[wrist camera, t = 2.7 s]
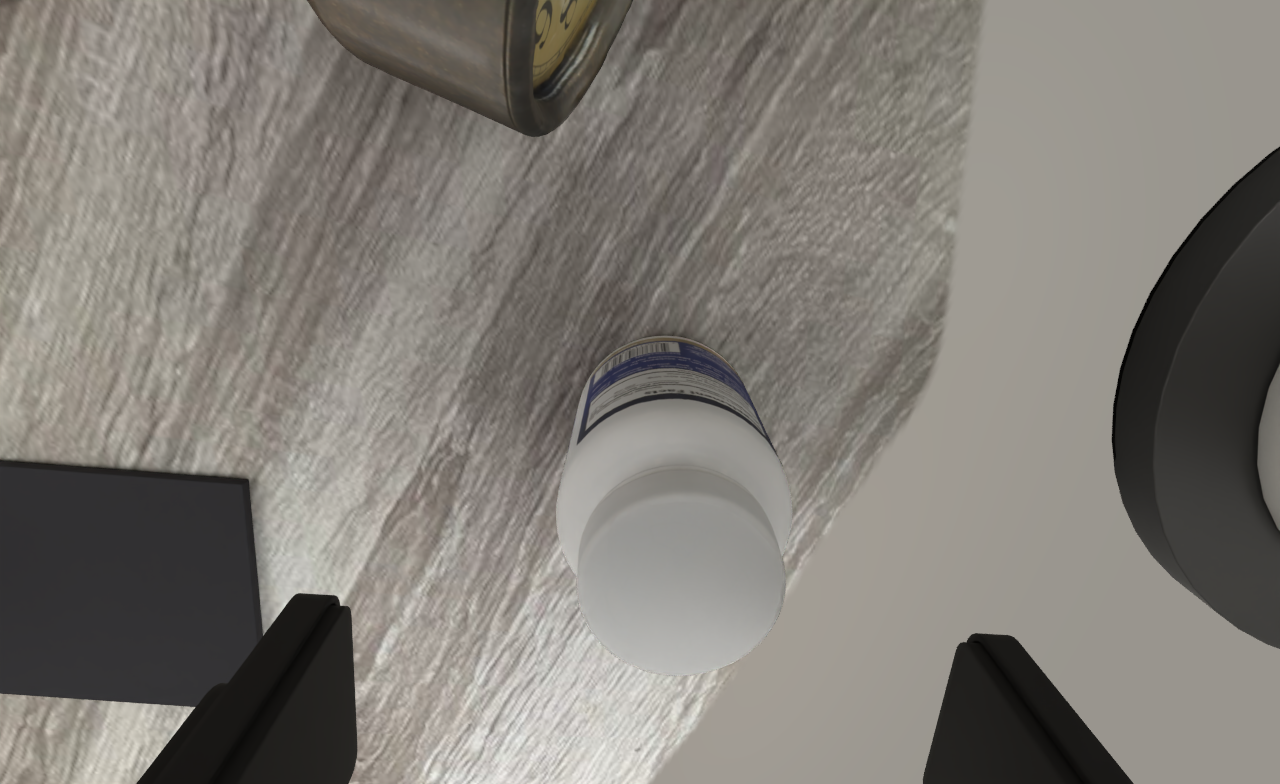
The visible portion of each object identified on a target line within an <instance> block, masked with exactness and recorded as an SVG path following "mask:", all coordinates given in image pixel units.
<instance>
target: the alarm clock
mask: <svg viewBox="0 0 1280 784" xmlns="http://www.w3.org/2000/svg"><path fill="white" fill-rule="evenodd" d="M307 1H308V3H309V4H310V6H311V7H312V9H313V10H314V12H315V13H316V15H317V16H318V18H319V19H320V21H321V22H322V23H323V24H324V26H325V27H326V28H327V29H328V30H329V32H330V33H331V34H332V35H333V36H334V37H335V38H336V39H337V41H338V42H339V43H340V44H341V45H342V46H343V47H345V48H346V49H347V50H348V51H350V52H351V53H352V54H353V55H355V56H356V57H357V58H359V59H360V60H362V61H364V62H365V63H367V64H369V65H371V66H374V67H376V68H378V69H380V70H382V71H384V72H386V73H388V74H390V75H392V76H395V77H397V78H399V79H402V80H404V81H406V82H409V83H411V84H413V85H416V86H418V87H420V88H422V89H425V90H427V91H429V92H432V93H434V94H436V95H439V96H441V97H443V98H445V99H448V100H450V101H452V102H454V103H457V104H459V105H461V106H463V107H466V108H468V109H470V110H472V111H474V112H477V113H479V114H481V115H483V116H485V117H487V118H490V119H492V120H494V121H496V122H498V123H501V124H503V125H505V126H507V127H509V128H511V129H513V130H516V131H518V132H520V133H522V134H524V135H527V136H531V137H539V136H542V135H546V134H548V133H550V132H551V131H553V130H555V129H556V128H557V127H558V126H560V125H561V124H562V123H563V122H564V121H565V120H566V119H567V118H568V117H569V115H570V114H571V113H572V111H573V110H574V109H575V108H576V106H577V105H578V104H579V102H580V100H581V99H582V98H583V96H584V95H585V93H586V92H587V90H588V88H589V87H590V85H591V83H592V82H593V80H594V78H595V77H596V75H597V73H598V72H599V70H600V69H601V67H602V65H603V63H604V61H605V58H606V56H607V53H608V51H609V49H610V47H611V45H612V43H613V41H614V39H615V37H616V35H617V33H618V31H619V29H620V27H621V25H622V23H623V21H624V18H625V16H626V14H627V12H628V10H629V8H630V7H631V4H632V1H633V0H307Z"/></svg>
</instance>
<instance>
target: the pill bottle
mask: <svg viewBox="0 0 1280 784" xmlns="http://www.w3.org/2000/svg"><path fill="white" fill-rule="evenodd" d="M556 524H557V532H558V537H559V541H560V545H561V548H562V551H563V554H564V556H565V558H566V560H567V562H568V564H569V566H570V567H571V569H572V571H573V572H574V574H575V575H576V577H577V595H578V602H579V606H580V610H581V613H582V615H583V618H584V620H585V622H586V624H587V626H588V628H589V629H590V631H591V632H592V634H593V635H594V637H595V638H596V639H597V640H598V642H599V643H600V644H601V645H602V646H603V647H604V648H606V649H607V650H608V651H609V652H610V653H611V654H613V655H614V656H615V657H617V658H619V659H620V660H622V661H624V662H625V663H627V664H629V665H632V666H634V667H636V668H639V669H641V670H644V671H647V672H651V673H656V674H662V675H669V676H688V675H698V674H702V673H707V672H711V671H714V670H717V669H720V668H723V667H725V666H728V665H730V664H732V663H734V662H735V661H737V660H739V659H741V658H743V657H744V656H746V655H747V654H748V653H750V652H751V651H752V650H753V649H754V648H755V647H756V646H758V645H759V644H760V643H761V642H762V640H763V639H764V638H765V637H766V636H767V635H768V633H769V632H770V630H771V629H772V627H773V625H774V624H775V622H776V620H777V618H778V616H779V614H780V611H781V608H782V605H783V601H784V596H785V588H786V576H785V567H784V562H783V558H782V556H783V554H784V551H785V549H786V546H787V542H788V539H789V535H790V531H791V525H792V500H791V492H790V488H789V484H788V480H787V478H786V475H785V472H784V469H783V466H782V463H781V461H780V459H779V458H778V455H777V453H776V451H775V449H774V447H773V445H772V443H771V441H770V439H769V437H768V435H767V433H766V431H765V428H764V426H763V424H762V422H761V420H760V418H759V416H758V414H757V411H756V409H755V407H754V405H753V403H752V401H751V399H750V397H749V394H748V392H747V390H746V388H745V386H744V384H743V382H742V381H741V379H740V377H739V376H738V374H737V373H736V371H735V370H734V369H733V367H732V366H731V365H730V364H729V363H728V362H727V361H726V360H725V359H724V358H723V357H722V356H721V355H719V354H718V353H717V352H715V351H714V350H712V349H711V348H709V347H707V346H705V345H703V344H701V343H699V342H696V341H694V340H691V339H687V338H682V337H677V336H653V337H647V338H642V339H638V340H635V341H633V342H630V343H628V344H626V345H624V346H622V347H620V348H618V349H617V350H615V351H614V352H612V353H611V354H610V355H608V356H607V357H606V358H605V359H604V360H603V361H602V362H601V363H600V364H599V365H598V366H597V368H596V369H595V370H594V371H593V373H592V374H591V376H590V377H589V379H588V381H587V383H586V385H585V387H584V389H583V392H582V395H581V398H580V402H579V405H578V409H577V413H576V417H575V421H574V426H573V431H572V435H571V439H570V443H569V448H568V452H567V457H566V461H565V465H564V469H563V473H562V476H561V481H560V485H559V492H558V498H557V505H556Z"/></svg>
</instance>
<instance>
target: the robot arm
mask: <svg viewBox="0 0 1280 784" xmlns="http://www.w3.org/2000/svg"><path fill="white" fill-rule="evenodd" d="M1257 466H1258V471H1259V476H1260V482H1261V487H1262V492H1263V498H1264V500H1265V502H1266V505H1267V507H1268V509H1269V511H1270V513H1271V515H1272V518H1273V520H1274V522H1275V524H1276V526H1277V528H1278V529H1279V531H1280V364H1279V367H1278V369H1277V371H1276V373H1275V375H1274V378H1273V380H1272V382H1271V384H1270V387H1269V389H1268V393H1267V397H1266V401H1265V405H1264V409H1263V413H1262V417H1261V421H1260V425H1259V436H1258V460H1257ZM356 758H357V728H356V706H355V684H354V662H353V640H352V618H351V610H350V608H349V607H348V606H340V602H339V599H338V597H337V596H335V595H318V594H301V593H299V594H295V595H294V596H293V597H292V598H291V600H290V601H289V602H288V604H287V605H286V606H285V608H284V609H283V610H282V612H281V613H280V614H279V616H278V617H277V618H276V620H275V621H274V622H273V624H272V625H271V626H270V628H269V629H268V630H267V632H266V633H265V634H264V636H263V637H262V638H261V640H260V641H259V642H258V644H257V645H256V646H255V648H254V649H253V650H252V652H251V653H250V654H249V656H248V657H247V658H246V660H245V661H244V662H243V664H242V665H241V666H240V668H239V669H238V670H237V672H236V673H235V674H234V676H233V677H232V678H231V680H230V681H229V682H228V683H220V684H217V685H215V686H213V687H212V688H211V689H210V691H209V692H208V693H207V694H206V695H205V696H204V697H203V698H202V700H201V701H200V702H199V704H198V705H197V706H196V708H195V709H194V710H193V711H192V713H191V714H190V715H189V717H188V718H187V719H186V720H185V722H184V723H183V724H182V726H181V727H180V728H179V729H178V731H177V732H176V733H175V735H174V736H173V737H172V738H171V740H170V741H169V742H168V744H167V745H166V746H165V747H164V749H163V750H162V751H161V753H160V754H159V755H158V757H157V758H156V759H155V760H154V762H153V763H152V764H151V766H150V767H149V768H148V769H147V771H146V772H145V773H144V775H143V776H142V777H141V778H140V780H139V781H138V782H137V784H348V783H349V781H350V779H351V776H352V774H353V771H354V767H355V763H356ZM923 784H1133V782H1132V781H1131V780H1130V779H1129V777H1128V776H1127V775H1126V774H1125V772H1124V771H1123V770H1122V769H1121V767H1120V766H1119V765H1118V764H1117V763H1116V761H1115V760H1114V759H1113V758H1112V756H1111V755H1110V754H1109V753H1108V751H1107V750H1106V749H1105V748H1104V747H1103V745H1102V744H1101V743H1100V742H1099V740H1098V739H1097V738H1096V737H1095V735H1094V734H1093V733H1092V732H1091V730H1090V729H1089V728H1088V727H1087V726H1086V725H1085V723H1084V722H1083V721H1082V719H1081V718H1080V717H1079V716H1078V714H1077V713H1076V712H1075V711H1074V710H1073V708H1072V707H1071V706H1070V705H1069V703H1068V702H1067V701H1066V700H1065V699H1064V697H1063V696H1062V695H1061V694H1060V692H1059V691H1058V690H1057V689H1056V687H1055V686H1054V685H1053V684H1052V683H1051V681H1050V680H1049V679H1048V678H1047V676H1046V675H1045V674H1044V673H1043V672H1042V670H1041V669H1040V668H1039V666H1038V665H1037V664H1036V663H1035V661H1034V660H1033V659H1032V658H1031V657H1030V655H1029V654H1028V653H1027V652H1026V651H1025V649H1024V648H1023V647H1022V645H1021V644H1020V643H1019V642H1018V641H1017V640H1016V639H1015V638H1014V637H1012V636H1009V635H993V634H978V633H975V634H972V635H971V636H970V637H969V638H968V640H967V642H963V643H960V644H959V645H958V647H957V649H956V653H955V656H954V660H953V664H952V668H951V672H950V676H949V679H948V684H947V687H946V691H945V695H944V699H943V703H942V706H941V710H940V714H939V718H938V722H937V726H936V729H935V733H934V737H933V741H932V745H931V749H930V754H929V756H928V760H927V764H926V768H925V772H924V777H923Z"/></svg>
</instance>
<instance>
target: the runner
mask: <svg viewBox="0 0 1280 784" xmlns="http://www.w3.org/2000/svg"><path fill="white" fill-rule="evenodd" d="M262 637H263V633H262V622H261V611H260V600H259V589H258V579H257V568H256V557H255V546H254V535H253V525H252V514H251V503H250V492H249V481H248V480H244V479H231V478H218V477H205V476H192V475H179V474H166V473H153V472H140V471H126V470H113V469H100V468H87V467H74V466H61V465H48V464H35V463H22V462H9V461H0V693H1V694H16V695H30V696H45V697H59V698H74V699H88V700H103V701H117V702H132V703H146V704H161V705H175V706H190V707H196V706H197V705H198V704H199V702H200V701H201V700H202V698H203V697H204V696H205V695H206V694H207V693H208V692H209V691H210V689H211V688H212V687H213V686H215V685H217V684H220V683H228V682H229V681H230V680H231V678H232V677H233V676H234V674H235V673H236V672H237V670H238V669H239V668H240V666H241V665H242V664H243V662H244V661H245V660H246V658H247V657H248V656H249V654H250V653H251V652H252V650H253V649H254V648H255V646H256V645H257V644H258V642H259V641H260V640H261V638H262Z"/></svg>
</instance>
